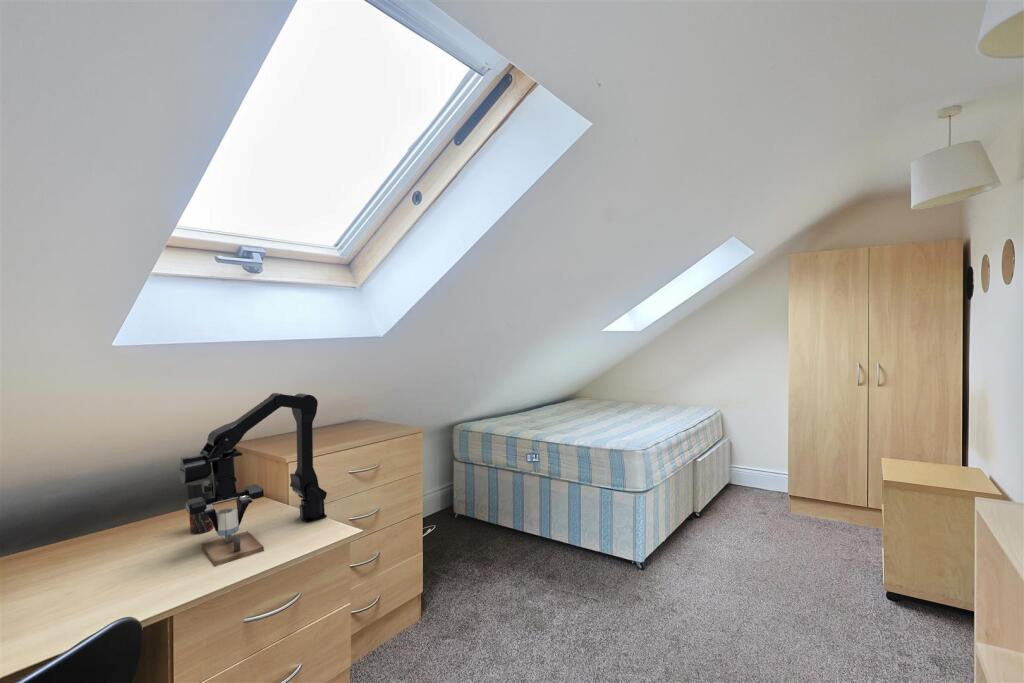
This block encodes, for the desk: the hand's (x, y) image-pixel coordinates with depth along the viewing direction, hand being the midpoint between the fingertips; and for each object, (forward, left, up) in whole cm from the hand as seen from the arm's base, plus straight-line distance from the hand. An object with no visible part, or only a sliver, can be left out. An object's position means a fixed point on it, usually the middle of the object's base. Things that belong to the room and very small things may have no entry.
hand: (227, 528), depth 148 cm
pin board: (0, +4, -5) cm, 6 cm away
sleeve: (0, 0, -1) cm, 1 cm away
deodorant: (+3, -18, -5) cm, 19 cm away
